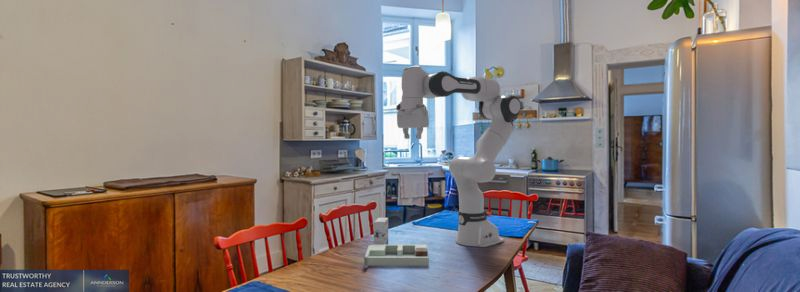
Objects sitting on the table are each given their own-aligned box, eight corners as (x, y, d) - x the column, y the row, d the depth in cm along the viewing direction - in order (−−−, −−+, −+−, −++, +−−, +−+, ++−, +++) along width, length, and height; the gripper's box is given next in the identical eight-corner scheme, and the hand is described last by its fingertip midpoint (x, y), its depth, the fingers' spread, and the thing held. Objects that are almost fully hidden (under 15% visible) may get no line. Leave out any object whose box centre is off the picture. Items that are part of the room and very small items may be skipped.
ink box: (378, 242, 178) (378, 217, 177) (389, 243, 177) (388, 217, 176) (373, 248, 169) (373, 221, 169) (384, 248, 168) (384, 221, 168)
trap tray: (427, 254, 160) (426, 244, 160) (428, 268, 144) (428, 257, 144) (369, 253, 161) (369, 244, 161) (364, 268, 145) (364, 257, 144)
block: (427, 259, 151) (427, 247, 151) (427, 263, 146) (427, 251, 146) (415, 259, 151) (415, 247, 151) (415, 263, 147) (415, 251, 146)
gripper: (432, 104, 152) (432, 139, 153) (406, 107, 170) (407, 138, 171) (419, 103, 149) (419, 139, 150) (394, 106, 167) (394, 138, 168)
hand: (412, 138), depth 161 cm, fingers open, 8 cm apart
